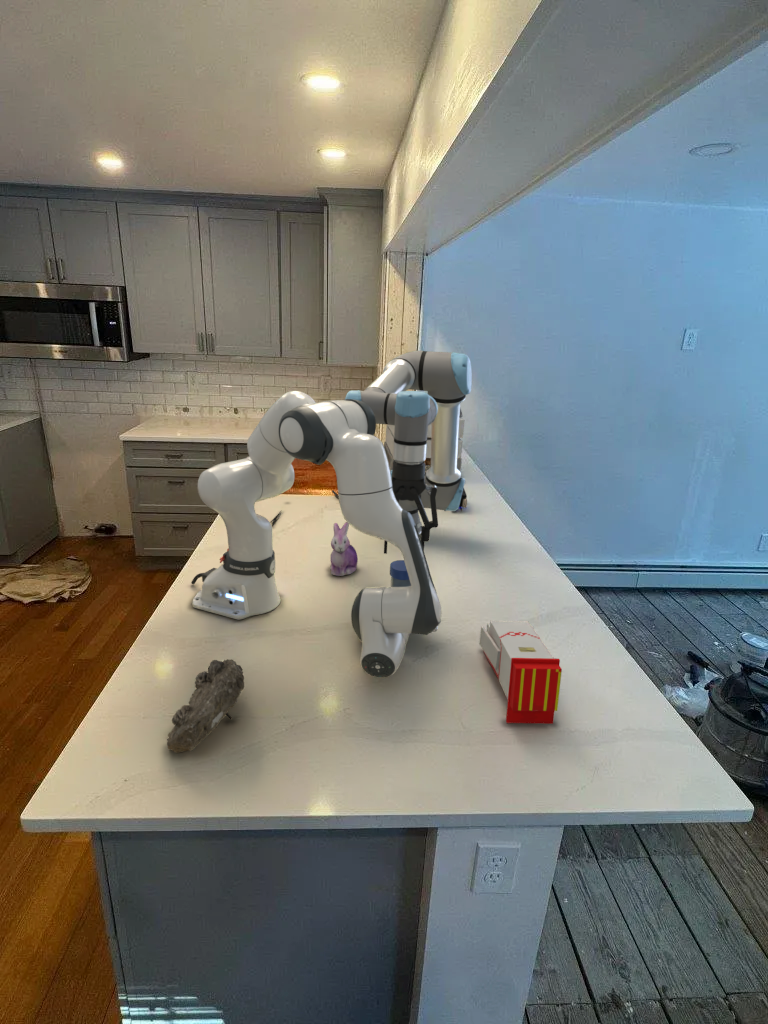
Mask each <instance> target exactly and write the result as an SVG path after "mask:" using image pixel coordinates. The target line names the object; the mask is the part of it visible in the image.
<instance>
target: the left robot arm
mask: <svg viewBox="0 0 768 1024" xmlns="http://www.w3.org/2000/svg"><path fill="white" fill-rule="evenodd" d="M376 429H377V424H376V420H375V416H374V413H373V411H372V410H371V408H370V407H369V406H368V405H367V404H366V403H364V402H362V401H359V400H354V399H345V398H344V399H331V400H323V401H319V402H316V401H315V399H313V397H311V396H310V395H309V394H307V393H306V392H303V391H300V390H290V391H287V392H285V393H284V394H282V395H281V396H279V397H278V398H277V399H276V401H275V402H274V403H273V404H272V405H271V406H270V407H269V408H268V409H267V410H266V412H265V413H264V414H263V416H262V417H261V419H260V420H259V422H258V423H257V425H256V427H255V428H254V429H253V431H252V432H251V434H250V436H249V437H248V439H247V442H246V447H247V454H248V456H247V457H245V458H244V457H243V458H242V459H236V460H231V461H227V462H226V461H225V462H221V463H218V464H216V465H213V466H211V467H209V468H207V469H205V470H203V471H202V472H201V473H200V475H199V477H198V480H197V494H198V496H199V498H200V500H201V501H202V503H203V504H204V505H205V506H206V507H207V508H209V509H210V510H213V511H214V512H216V513H217V514H218V515H219V516H220V517H221V519H222V521H223V523H224V526H225V529H226V536H227V547H228V548H227V550H226V551H224V553H222V556H221V557H220V558H219V564H221V563H222V564H221V565H220V566H218V567H213V568H210V569H209V570H207V571H205V572H200V573H198V574H196V575H195V576H194V577H193V579H192V580H191V582H190V584H192V585H195V584H196V582H197V581H198V579H200V578H201V580H202V585H201V589H200V590H199V591H198V592H197V593H196V594H195V596H194V597H193V599H192V608H194V609H197V610H201V611H205V612H208V613H212V614H216V615H220V616H223V617H227V618H231V619H234V620H237V621H238V620H244V619H246V618H249V617H252V616H258V615H263V614H265V613H270V612H271V611H273V610H275V609H276V608H278V606H279V605H280V604H281V597H280V596H281V595H280V593H279V590H278V586H277V581H276V575H275V573H276V554H275V550H274V541H273V540H274V539H273V538H274V536H273V535H274V533H273V526H272V525H273V524H272V522H271V521H270V520H269V519H268V518H267V517H265V516H264V515H261V514H258V513H257V512H256V508H255V506H256V505H255V504H256V503H258V502H261V501H265V500H268V499H273V498H276V497H278V496H280V495H282V494H284V493H285V492H287V491H289V490H291V488H292V487H293V485H294V482H295V475H296V474H295V470H294V466H293V464H292V463H293V462H294V460H295V459H297V460H302V461H306V462H310V463H312V464H315V465H318V466H321V465H322V464H324V463H325V462H328V463H330V465H331V466H332V467H333V469H334V471H335V476H336V485H337V495H338V496H339V498H338V502H339V507H340V511H341V515H342V517H343V519H344V520H345V521H346V522H348V523H349V526H351V527H352V528H353V529H355V530H356V531H358V532H360V533H362V534H364V535H368V536H370V537H375V538H378V539H380V540H383V541H384V540H385V541H387V543H390V544H391V545H393V546H394V547H396V548H397V549H398V550H399V552H400V553H401V555H402V559H403V560H404V562H405V565H406V569H407V572H408V576H409V579H410V583H411V586H407V587H391V586H372V587H371V586H369V587H363V588H362V589H361V590H360V591H359V592H358V593H357V595H356V597H355V598H354V600H353V603H352V605H351V613H350V619H351V626H352V629H353V633H354V634H355V636H356V637H357V638H358V640H359V641H360V642H361V652H360V659H359V660H360V661H359V662H360V666H361V669H362V670H363V671H364V672H365V673H366V674H367V675H369V676H370V677H374V678H379V679H380V678H381V679H384V678H388V677H390V676H392V675H394V674H395V673H396V671H398V669H399V668H400V665H401V663H402V661H403V658H404V655H405V652H406V647H407V643H408V641H409V637H410V634H411V635H421V636H428V635H429V634H432V633H433V632H435V633H436V632H437V631H438V629H439V625H440V624H441V622H442V614H443V613H442V612H443V611H442V603H441V600H440V597H439V595H438V593H437V589H436V587H435V584H434V582H433V578H432V575H431V572H430V568H429V565H428V561H427V556H426V553H425V549H424V550H423V546H422V543H421V536H419V533H418V530H417V527H416V524H415V522H414V519H413V517H412V516H411V514H410V513H409V512H407V511H405V510H403V509H402V508H401V506H400V505H399V503H398V502H397V500H396V498H395V495H394V492H393V486H392V478H391V472H390V467H389V463H388V459H387V455H386V452H385V448H384V442H382V440H381V438H379V437H378V436H376V435H375V434H376ZM270 522H271V523H270Z"/></svg>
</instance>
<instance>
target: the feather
mask: <svg viewBox="0 0 768 1024" xmlns="http://www.w3.org/2000/svg"><path fill="white" fill-rule="evenodd" d="M281 512H282V510H280V512H279V513H277V514H276V516H275V517H273V519H272V520H271V521H269V522H270V523H271V525H272V527H274V525H275V523H276V521H277V520H278V518H279V516H280V514H281Z"/></svg>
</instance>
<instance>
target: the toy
mask: <svg viewBox="0 0 768 1024" xmlns="http://www.w3.org/2000/svg"><path fill="white" fill-rule="evenodd" d="M478 642H479V643H478V644H479V646H480V647H481V650H482V651H483V654H484V655H485V657H486V659H487V661H488V663H489V664H490V666H491V669H492V670H493V672H494V674H495V676H496V678H497V679H498V682H499V684H500V687H501V688H502V691H503V693H504V695H505V697H506V699H507V706H506V717H505V722H506V724H547V725H549V724H551V725H553V724H554V718H555V712H558V711H559V710H558V709H559V698H560V689H561V682H562V681H561V680H562V672H563V671H562V667H561V666H560V663H561V659H560V658H554V656H553V654H552V653H551V651H550V650H549V649H548V647H547V646H546V644H545V643H544V642H543V640H542V638H540V636H539V635H538V633H537V631H536V630H535V627H534V626H532V625H531V623H530V622H529V620H528V621H527V620H526V621H525V620H524V621H523V620H490V621H489V622H487V623H486V628H485V626H480V634H479V641H478Z"/></svg>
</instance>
